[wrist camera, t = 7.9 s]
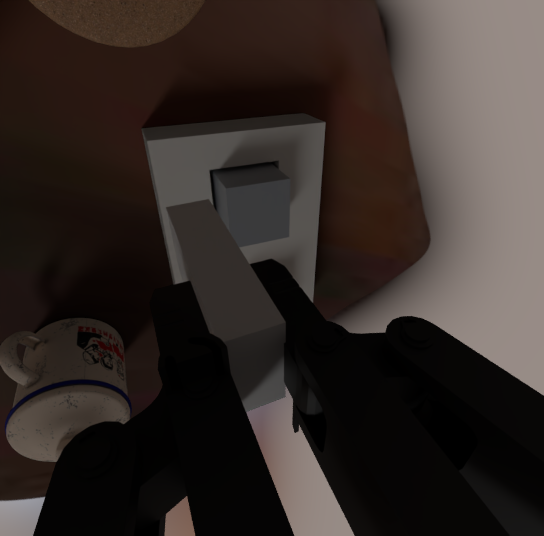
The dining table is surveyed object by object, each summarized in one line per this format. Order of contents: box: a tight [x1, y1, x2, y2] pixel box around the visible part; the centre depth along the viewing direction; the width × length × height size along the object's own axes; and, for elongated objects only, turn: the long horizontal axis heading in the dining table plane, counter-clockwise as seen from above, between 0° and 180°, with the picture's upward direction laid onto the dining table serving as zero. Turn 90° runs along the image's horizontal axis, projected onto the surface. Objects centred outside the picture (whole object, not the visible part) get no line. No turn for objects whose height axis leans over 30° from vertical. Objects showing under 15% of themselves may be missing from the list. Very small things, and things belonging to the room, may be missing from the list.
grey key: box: [211, 162, 290, 247], centre depth 29 cm, size 5×5×4 cm
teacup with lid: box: [0, 318, 132, 462], centre depth 31 cm, size 12×9×12 cm
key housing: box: [142, 113, 326, 303], centre depth 35 cm, size 22×14×4 cm, turn 1°
